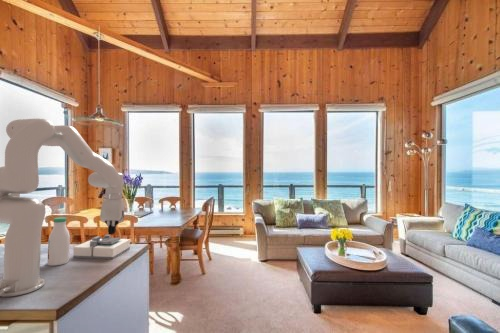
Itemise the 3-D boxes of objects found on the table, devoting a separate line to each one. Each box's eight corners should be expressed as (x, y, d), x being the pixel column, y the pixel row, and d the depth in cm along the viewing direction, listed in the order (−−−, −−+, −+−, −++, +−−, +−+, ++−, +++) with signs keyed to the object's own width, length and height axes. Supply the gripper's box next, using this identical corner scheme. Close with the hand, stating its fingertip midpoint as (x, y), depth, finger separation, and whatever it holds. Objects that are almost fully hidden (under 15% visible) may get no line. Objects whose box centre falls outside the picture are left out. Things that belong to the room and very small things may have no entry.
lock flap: (93, 241, 123) (93, 245, 123) (110, 241, 123) (110, 245, 123) (104, 236, 132) (104, 240, 132) (120, 236, 132) (120, 239, 132)
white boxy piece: (112, 259, 119) (113, 242, 119) (73, 257, 120) (73, 241, 120) (129, 248, 135) (130, 234, 135) (94, 247, 136) (95, 233, 136)
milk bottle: (73, 260, 116) (75, 216, 116) (59, 266, 108) (60, 219, 109) (57, 259, 117) (59, 216, 117) (42, 265, 109) (44, 219, 110)
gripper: (94, 197, 124) (92, 235, 123) (124, 198, 124) (122, 236, 123) (103, 196, 131) (101, 231, 131) (132, 197, 131) (130, 232, 130)
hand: (111, 233), depth 127 cm, fingers closed
